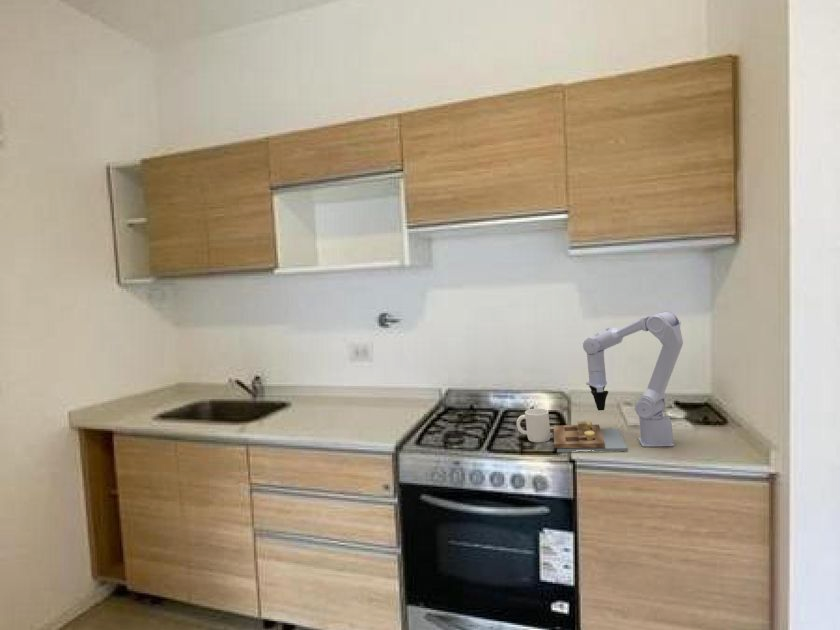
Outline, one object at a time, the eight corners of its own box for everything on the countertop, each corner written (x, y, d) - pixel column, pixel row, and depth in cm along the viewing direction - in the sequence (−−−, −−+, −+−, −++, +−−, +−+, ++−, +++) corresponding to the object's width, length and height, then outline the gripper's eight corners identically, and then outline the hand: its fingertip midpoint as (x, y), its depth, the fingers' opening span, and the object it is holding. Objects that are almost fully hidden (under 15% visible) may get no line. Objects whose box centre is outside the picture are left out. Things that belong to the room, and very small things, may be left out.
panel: (599, 428, 175) (597, 413, 174) (605, 447, 155) (603, 431, 155) (554, 429, 179) (552, 415, 179) (554, 448, 160) (552, 432, 159)
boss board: (619, 431, 173) (618, 417, 173) (627, 451, 154) (626, 436, 153) (556, 433, 179) (555, 419, 178) (557, 452, 160) (555, 437, 159)
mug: (515, 442, 174) (512, 414, 174) (520, 434, 182) (518, 408, 181) (548, 443, 169) (545, 415, 168) (552, 435, 176) (550, 408, 176)
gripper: (583, 366, 179) (586, 402, 180) (586, 374, 165) (589, 413, 166) (603, 365, 177) (606, 401, 178) (608, 373, 163) (611, 412, 164)
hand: (599, 407), depth 172 cm, fingers open, 7 cm apart
